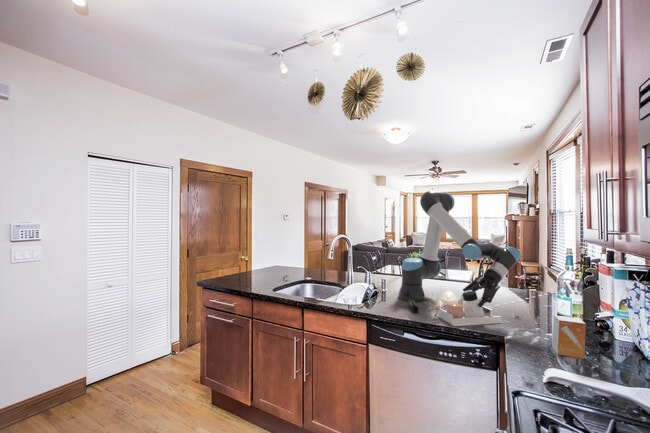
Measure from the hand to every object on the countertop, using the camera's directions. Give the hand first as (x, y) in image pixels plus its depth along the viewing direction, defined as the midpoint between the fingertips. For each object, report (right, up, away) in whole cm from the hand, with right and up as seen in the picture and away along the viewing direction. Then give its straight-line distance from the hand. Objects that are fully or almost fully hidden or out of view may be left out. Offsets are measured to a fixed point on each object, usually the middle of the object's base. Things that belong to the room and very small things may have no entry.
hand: (465, 307), depth 145 cm
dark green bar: (-21, -6, +14) cm, 26 cm away
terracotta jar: (-6, -5, -1) cm, 8 cm away
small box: (+23, -8, -31) cm, 40 cm away
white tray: (+2, -7, +1) cm, 7 cm away
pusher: (+12, -5, +3) cm, 13 cm away
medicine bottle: (+5, -4, +1) cm, 7 cm away
